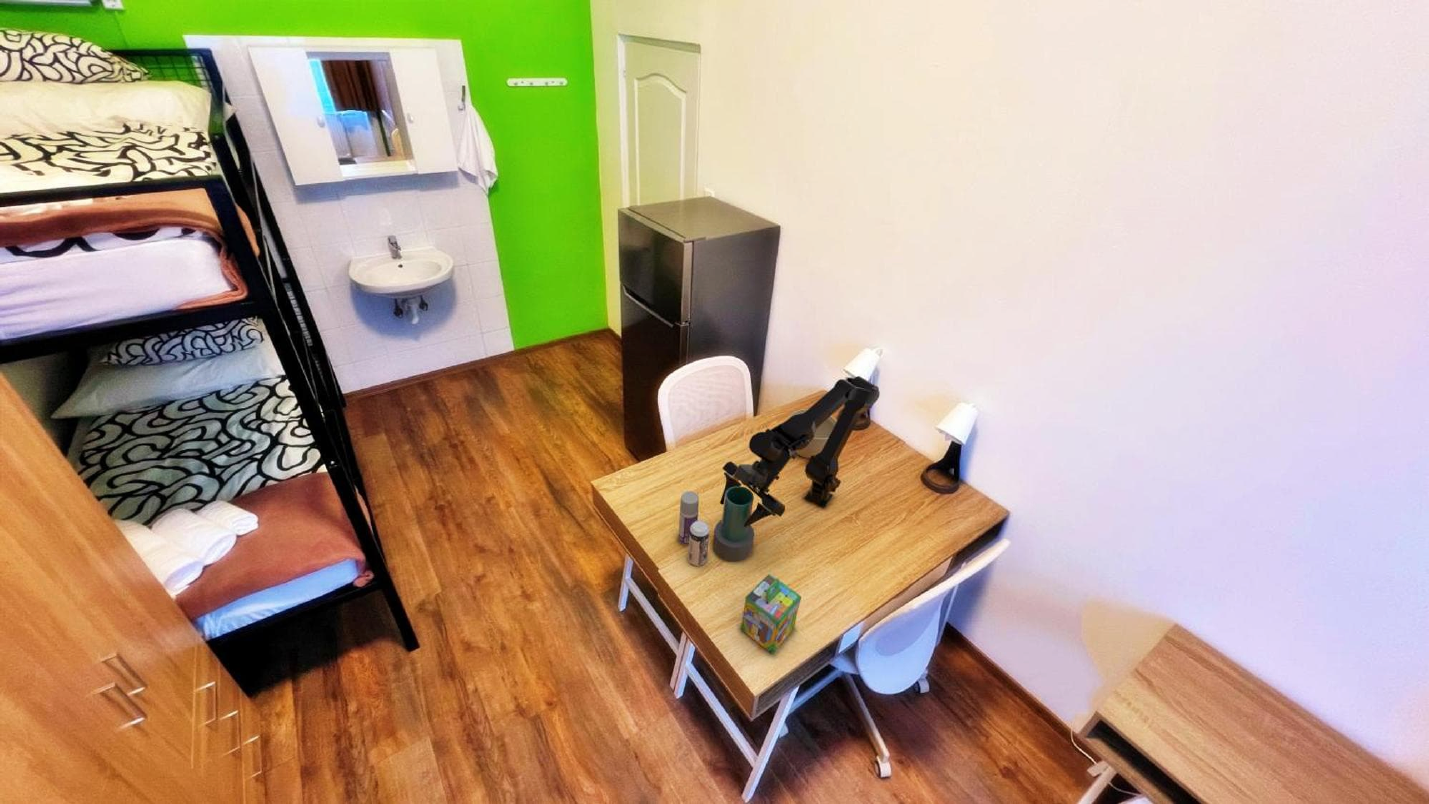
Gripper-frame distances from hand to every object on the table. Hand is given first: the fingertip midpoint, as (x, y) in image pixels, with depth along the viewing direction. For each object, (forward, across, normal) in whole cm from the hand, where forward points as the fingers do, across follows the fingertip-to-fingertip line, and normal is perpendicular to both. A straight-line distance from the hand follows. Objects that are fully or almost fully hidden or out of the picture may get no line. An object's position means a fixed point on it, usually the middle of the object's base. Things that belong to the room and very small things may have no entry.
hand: (732, 515), depth 138 cm
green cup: (+4, 0, +6) cm, 7 cm away
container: (+14, -9, +4) cm, 17 cm away
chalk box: (+14, +23, +4) cm, 27 cm away
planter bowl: (-25, -18, +43) cm, 53 cm away
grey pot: (+8, 0, +10) cm, 12 cm away
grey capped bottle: (+15, -2, +3) cm, 15 cm away
